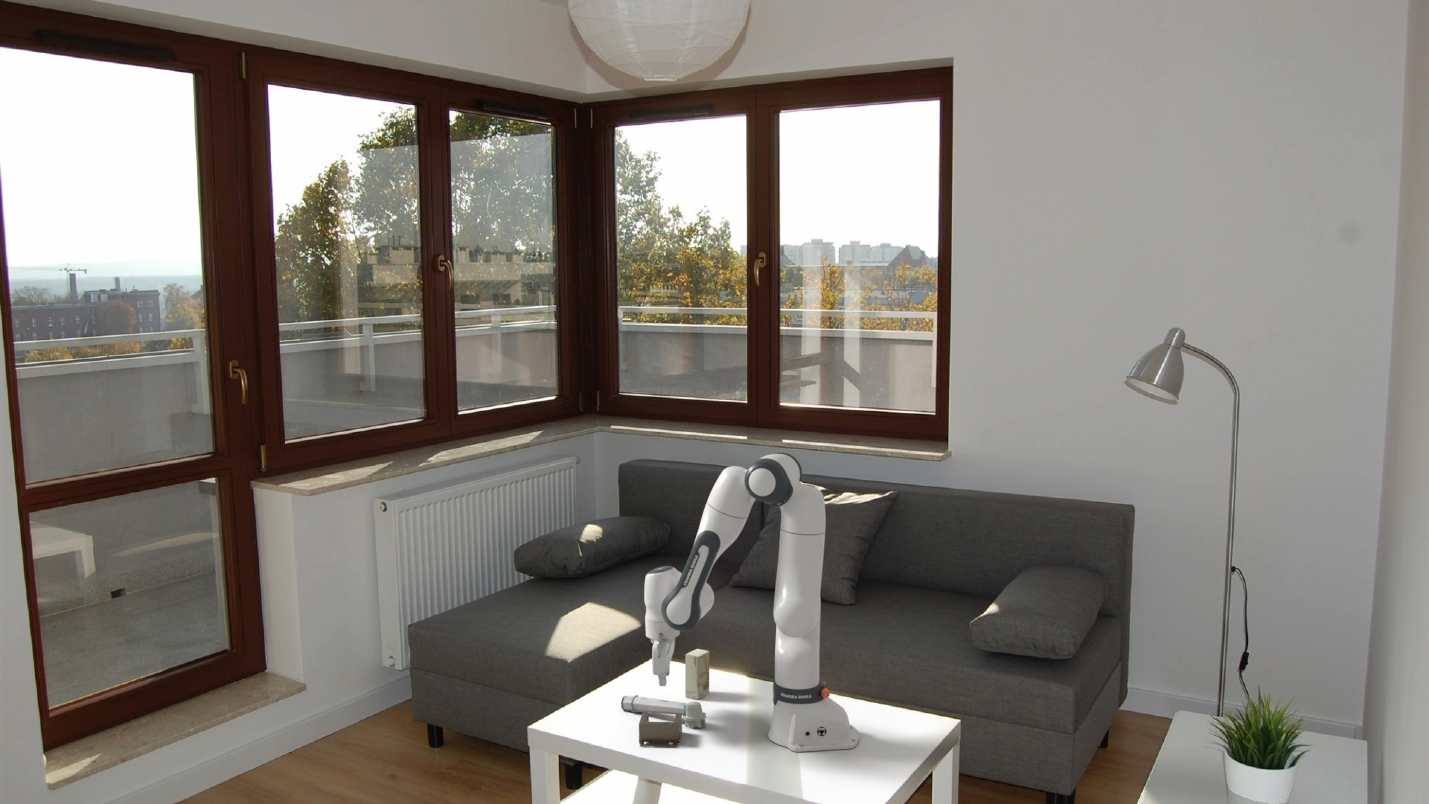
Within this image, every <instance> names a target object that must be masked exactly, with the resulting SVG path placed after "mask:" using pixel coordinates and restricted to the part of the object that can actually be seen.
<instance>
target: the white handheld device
mask: <svg viewBox="0 0 1429 804" xmlns="http://www.w3.org/2000/svg"><path fill="white" fill-rule="evenodd" d="M620 706H621V709H622V710H623V711H625V712H626V711H627V712H632V713H634V714H635V713H643V712H649V714H661V715H662V714H664V715H665V714H666V715H676V713H682V721H684V723H685V724H684V725H685V727H689V728H688V729H695V728H698V729H700V728H704V727H706V726H707V723H706V718H707V714H706V713H707V712H705V711H704V712H703V708H702V704H701V702H700V701H690V702H680V701H674V700H673V701H672V700H666V699H659V698H651V697H646V696H645V697H644V696H639V695H638V694H635V695H624V696H623V697H622V698H621V701H620Z"/></svg>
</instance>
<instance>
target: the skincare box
mask: <svg viewBox="0 0 1429 804" xmlns="http://www.w3.org/2000/svg"><path fill="white" fill-rule="evenodd" d="M684 667H685V674H684V675H685V676H684V677H685V678H684V679H685V682H684V683H685V684H684V685H685V686H684V689H685V691H684V693H685V694H684V697H686V698H689V699H692V700H693V699H694V700H700V699H702V698H703V697H705V696H707V695H709V694H710V651H709V650H706V649H700V648H696V649H694V650H692V651H689V652H688V653H686V654H685V665H684ZM708 693H709V694H708Z"/></svg>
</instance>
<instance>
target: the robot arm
mask: <svg viewBox="0 0 1429 804" xmlns="http://www.w3.org/2000/svg"><path fill="white" fill-rule="evenodd" d="M802 469H803V468H802V465H801V463H800V462H799V460H798V459H797V458H796V457H795V456H793V455H792V454H790V453H786V452H775V453H773V454H767V455H765V456H762V457H760V458H759V459H757V460H755V461H754V462H752V463H751V464H750V465H749V467H748V468H745V467H742V466H739V465H731V466H727V467H726V468H724V469H722V472H720V474H719V475H718V478H717V480H716V481H715V483H714V484H713V487H712V489H711V491H710V493H709V495H708V497H707V501H706V504H705V506H704V509H703V512H702V515H701V519H700V523H699V526H698V530H697V533H696V537H695V539H694V543H693V547H692V549H691V551H690V553H689V556H688V558H687V561H686V563H685V565H684V569H683V571H682V572H681V571H679V570H677V568H675V566H671V565H663V566H658V567H655V568H653V569H652V570H650V571H648V572H647V574H646V575H645V578H644V587H643V588H644V592H643V593H644V594H643V595H644V597H643V598H644V604H645V610H646V611H645V616H644V621H645V622H644V623H645V626H644V627H645V637H646V638H649V639H650V643H652V644H653V645H652V649H651V650H652V653H651V655H652V658H651V661H652V662H651V663H652V664H651V665H652V666H651V667H652V669H651V670H652V674H653V675H654V676H657V677H658V685H659V687H666V685H667V677H668V676H669V675H670V672H671V671H670V667H671V666H670V665H671V661H672V657H673V655H674V652H675V651H674V650H675V648H676V647H675V645H676V638H678V636H679V635H680V632H687V631H689V630H692V629H693V628H695V626H697V624H698V623H699V621H701V619H702V618H703V617H704V616H705V615H706V614H707V613H708V612H709V611H710V610H711V609H712V607H713V606H714V604H715V600H716V599H715V593H714V590H713V588H712V585H710V583H708V582H707V581H708V578H709V576H710V574H711V572H712V569H713V568H714V567H713V566H714V565H715V563H716V562H717V560H719V558H720V556H721V555H722V554H723V553H724V552H725V551H726V550H727V549H728V548H730V546H731V545H732V544H733V543H734V542H735V541H736V540H737V539H738V537H739V536H740V534H741V532H742V531H743V529H744V527H745V524H746V523H747V520H748V518H749V515H750V513H751V509H752V507H753V505H754V503H755V501H756V500H757V501H759V502H761V503H765V504H767V505H770V506H771V507H773V508H780V516H781V518H780V532H779V545H778V546H779V548H778V560H777V568H776V576H775V577H776V578H775V586H774V587H775V588H774V589H775V590H774V601H773V610H772V612H773V620H774V623H775V625H776V627H775V628H776V629H775V631H776V632H775V644H774V645H775V646H774V647H775V649H774V680H773V681H772V682H773V684H772V703H773V711H772V717H771V723H770V727H769V731H768V734H767V736H768V738H769V740H770V741H772V742H773V743H775V744H777V745H779V746H783V747H786V748H787V749H789V750H791V751H793V752H796V753H800V752H801V753H802V752H817V751H828V750H829V751H833V750H834V751H835V750H850V749H854V748H855V747H857V745H858V744H859V742H860V741H859V732H858V730H857V729H856V727H855V726H854V725H852V724H851V723H850V721H849V716H848V713H847V711H846V710H845V709H844V707H843V706H841V705H840V704H839V703H837V702H836V701H834V700H833V699H832V698H831V697H830V695H831V694H830V690H829V689H828V685H827V684H826V682H825V680H823V681H822V680H820V644H821V642H820V640H821V638H820V637H821V605H822V603H821V602H822V601H821V598H822V597H821V590H822V589H821V588H822V579H823V578H822V577H823V565H824V553H825V552H824V551H825V542H826V540H825V539H826V526H827V525H826V517H827V516H826V504H825V498H824V494H823V493H822V491H821V490H820V489H819V488H817V487H815V486H813V485H809V484H804V483H802V482H801V481H802V478H803V470H802Z"/></svg>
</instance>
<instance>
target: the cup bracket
mask: <svg viewBox="0 0 1429 804" xmlns="http://www.w3.org/2000/svg"><path fill="white" fill-rule="evenodd" d="M641 713H642V714H641V717H640V719H639V723H638V744H639V747H640V746H654V747H653V748H675V749H676V747H678V745H680V744H679V743H681V738H682V735H681V734H682V733H683V715H682V713H676V715H675V714H674V715H675V716H674V720H673V721H672V722H671V721H650V720H649V719H650V717H649V716H650V713H649V712H641Z"/></svg>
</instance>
